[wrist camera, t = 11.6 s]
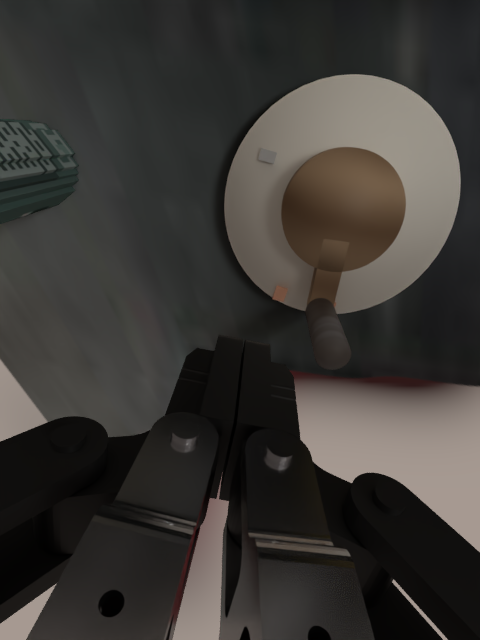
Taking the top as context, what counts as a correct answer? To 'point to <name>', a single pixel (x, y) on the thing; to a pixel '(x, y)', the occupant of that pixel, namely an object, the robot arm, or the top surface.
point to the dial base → (327, 133)
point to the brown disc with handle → (339, 231)
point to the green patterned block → (33, 168)
